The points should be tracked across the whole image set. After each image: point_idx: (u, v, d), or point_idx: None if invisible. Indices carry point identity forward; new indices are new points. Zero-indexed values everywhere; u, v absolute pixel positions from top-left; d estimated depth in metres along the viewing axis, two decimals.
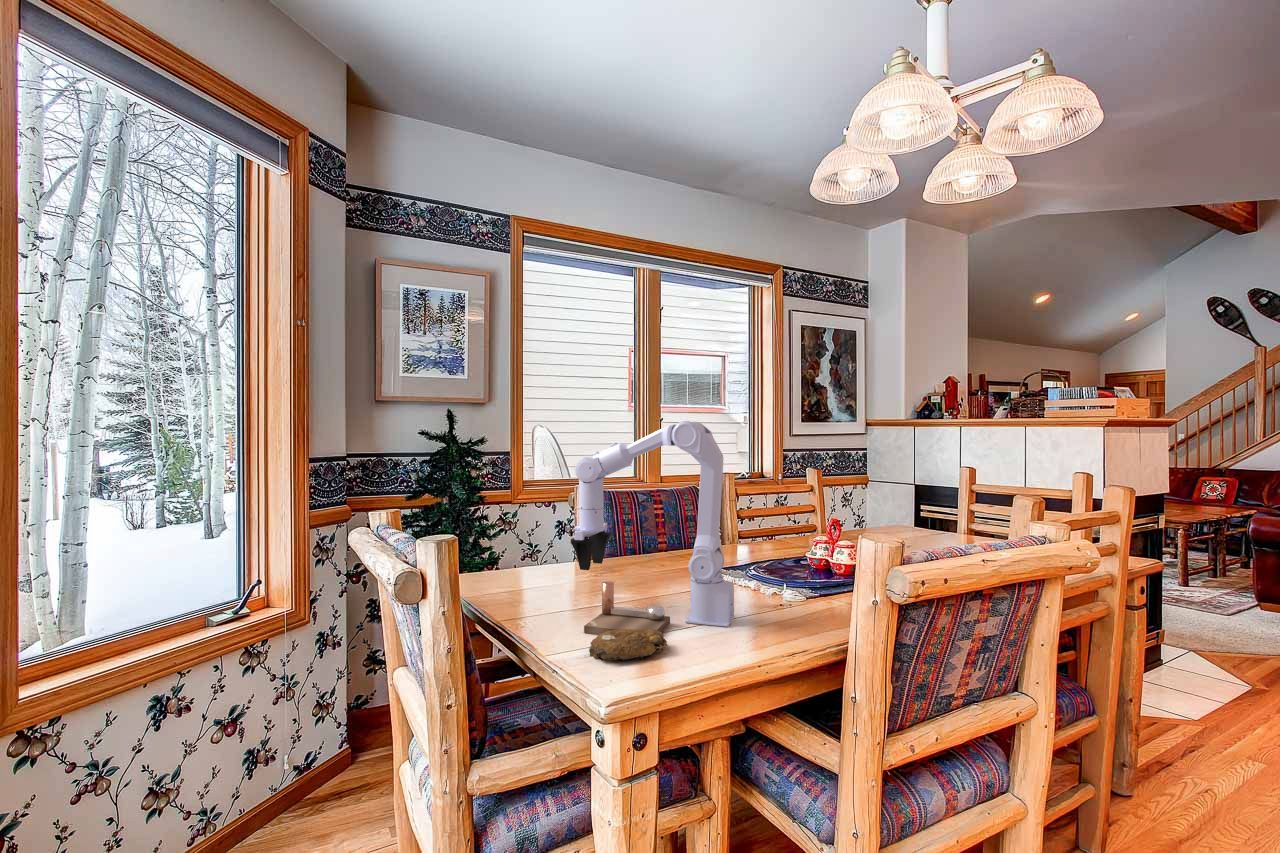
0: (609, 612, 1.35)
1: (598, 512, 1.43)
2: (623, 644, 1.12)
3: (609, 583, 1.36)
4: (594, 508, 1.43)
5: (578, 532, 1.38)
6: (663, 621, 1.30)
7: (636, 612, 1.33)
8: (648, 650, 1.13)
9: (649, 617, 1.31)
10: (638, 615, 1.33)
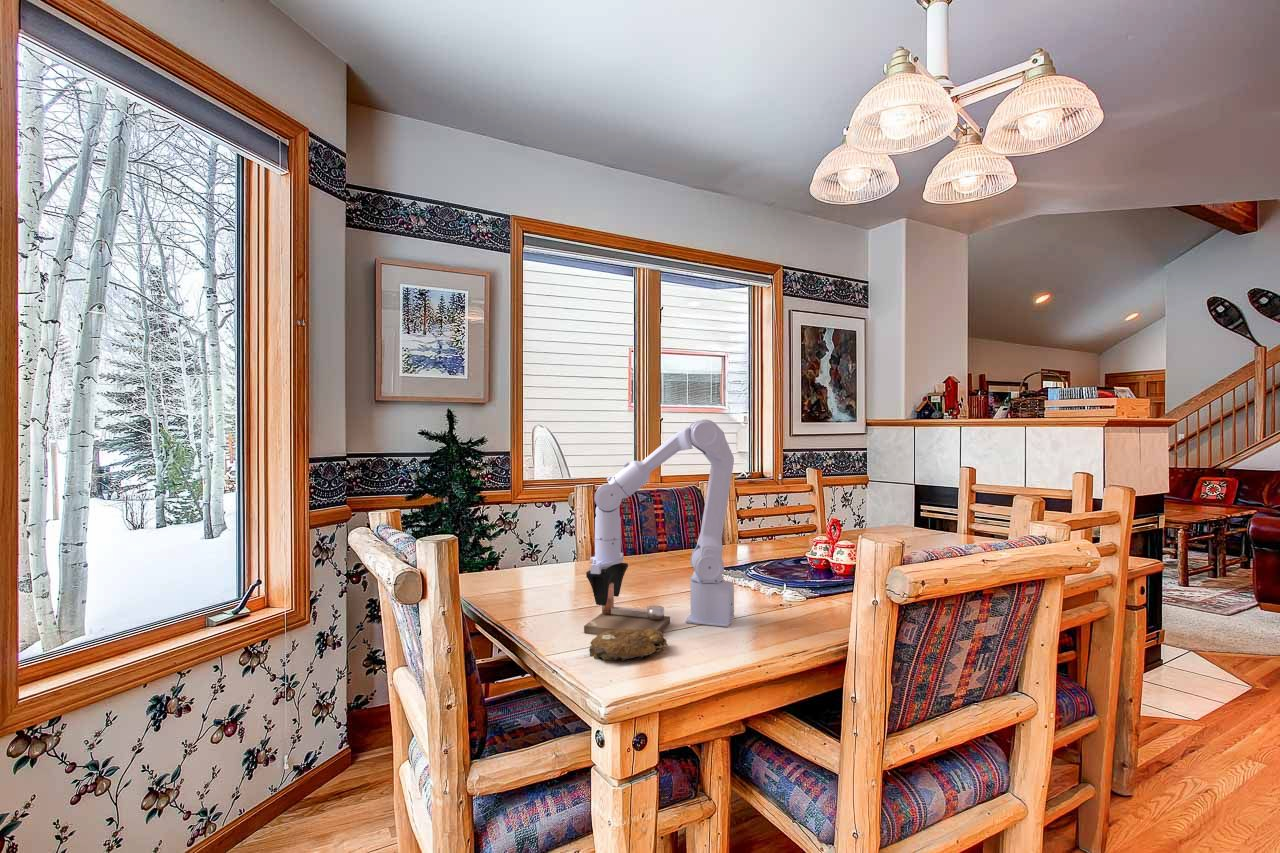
0: (609, 612, 1.35)
1: (615, 543, 1.34)
2: (623, 644, 1.12)
3: None
4: (615, 538, 1.34)
5: (595, 565, 1.29)
6: (663, 621, 1.30)
7: (636, 612, 1.33)
8: (648, 650, 1.13)
9: (649, 617, 1.31)
10: (638, 615, 1.33)
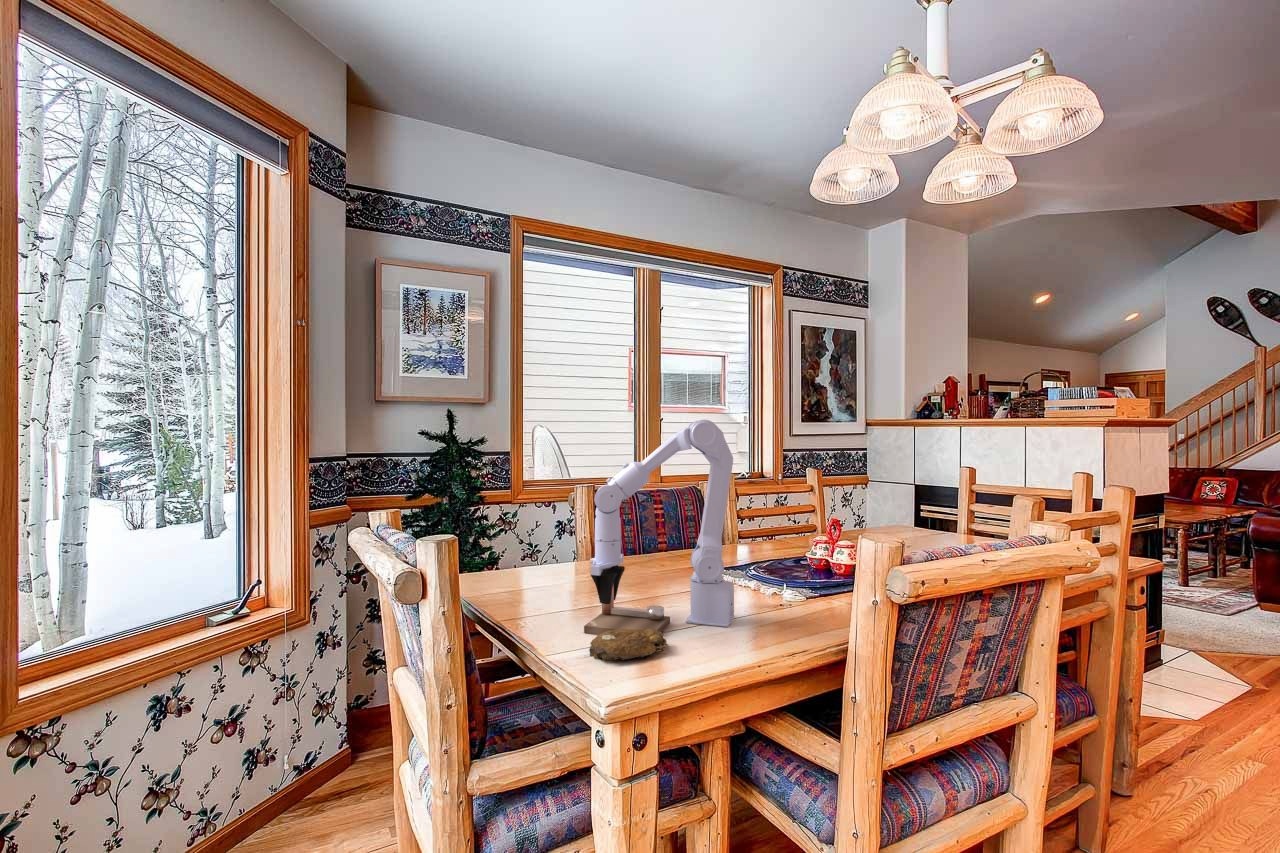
0: (609, 612, 1.35)
1: (615, 544, 1.34)
2: (623, 644, 1.12)
3: None
4: (615, 540, 1.34)
5: (595, 567, 1.29)
6: (663, 621, 1.30)
7: (636, 612, 1.33)
8: (648, 650, 1.13)
9: (649, 617, 1.31)
10: (638, 615, 1.33)
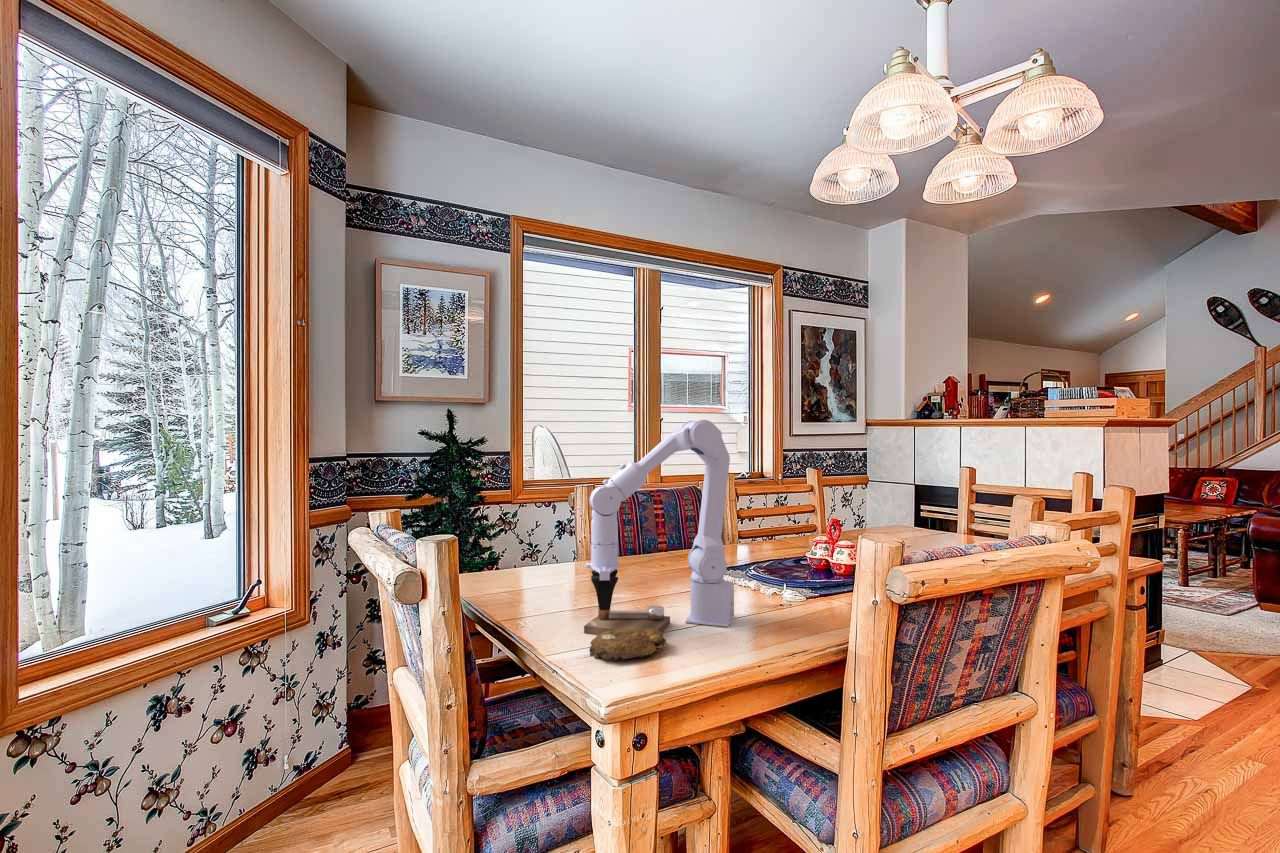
0: (607, 616, 1.31)
1: (616, 547, 1.31)
2: (624, 644, 1.13)
3: None
4: (613, 543, 1.30)
5: (604, 571, 1.25)
6: (663, 621, 1.30)
7: (636, 614, 1.32)
8: (648, 649, 1.13)
9: (651, 618, 1.31)
10: (638, 617, 1.32)
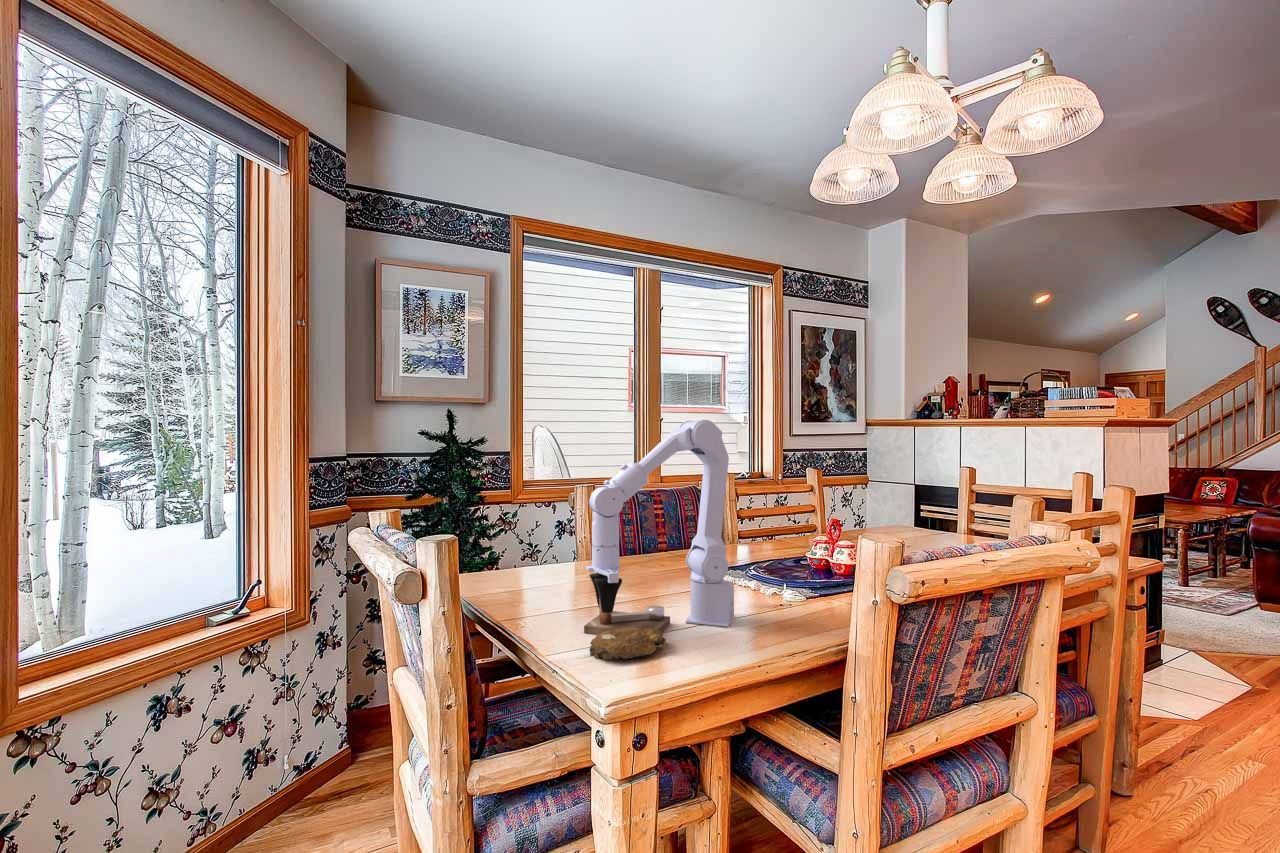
0: (610, 621, 1.29)
1: (618, 548, 1.29)
2: (624, 643, 1.13)
3: None
4: (615, 544, 1.28)
5: (613, 574, 1.23)
6: (663, 621, 1.30)
7: (638, 616, 1.30)
8: (649, 649, 1.13)
9: (653, 618, 1.31)
10: (640, 618, 1.31)
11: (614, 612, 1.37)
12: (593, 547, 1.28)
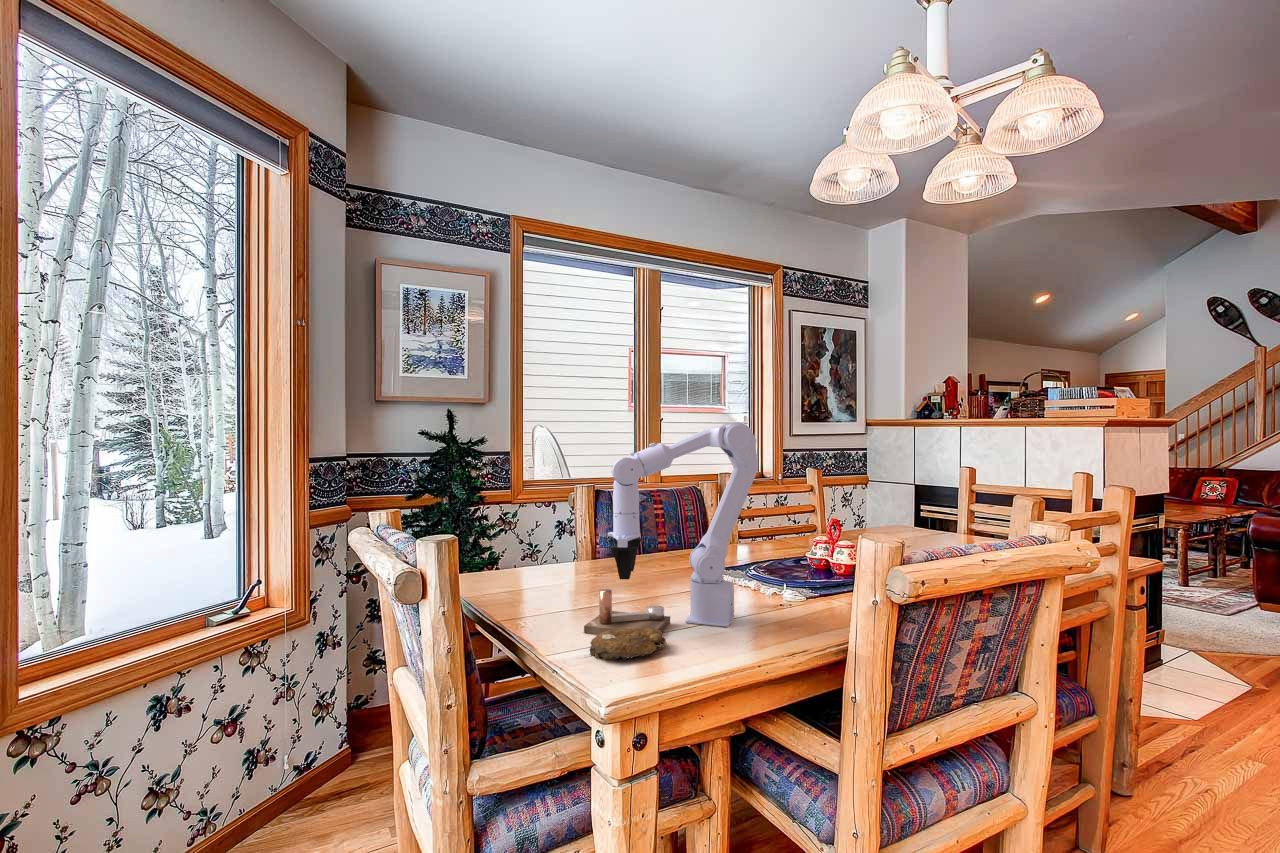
0: (610, 621, 1.29)
1: (636, 516, 1.33)
2: (624, 643, 1.13)
3: (608, 590, 1.29)
4: (634, 512, 1.33)
5: (622, 539, 1.28)
6: (663, 621, 1.30)
7: (638, 616, 1.30)
8: (649, 648, 1.13)
9: (653, 618, 1.31)
10: (640, 618, 1.31)
11: (614, 612, 1.37)
12: (613, 514, 1.35)
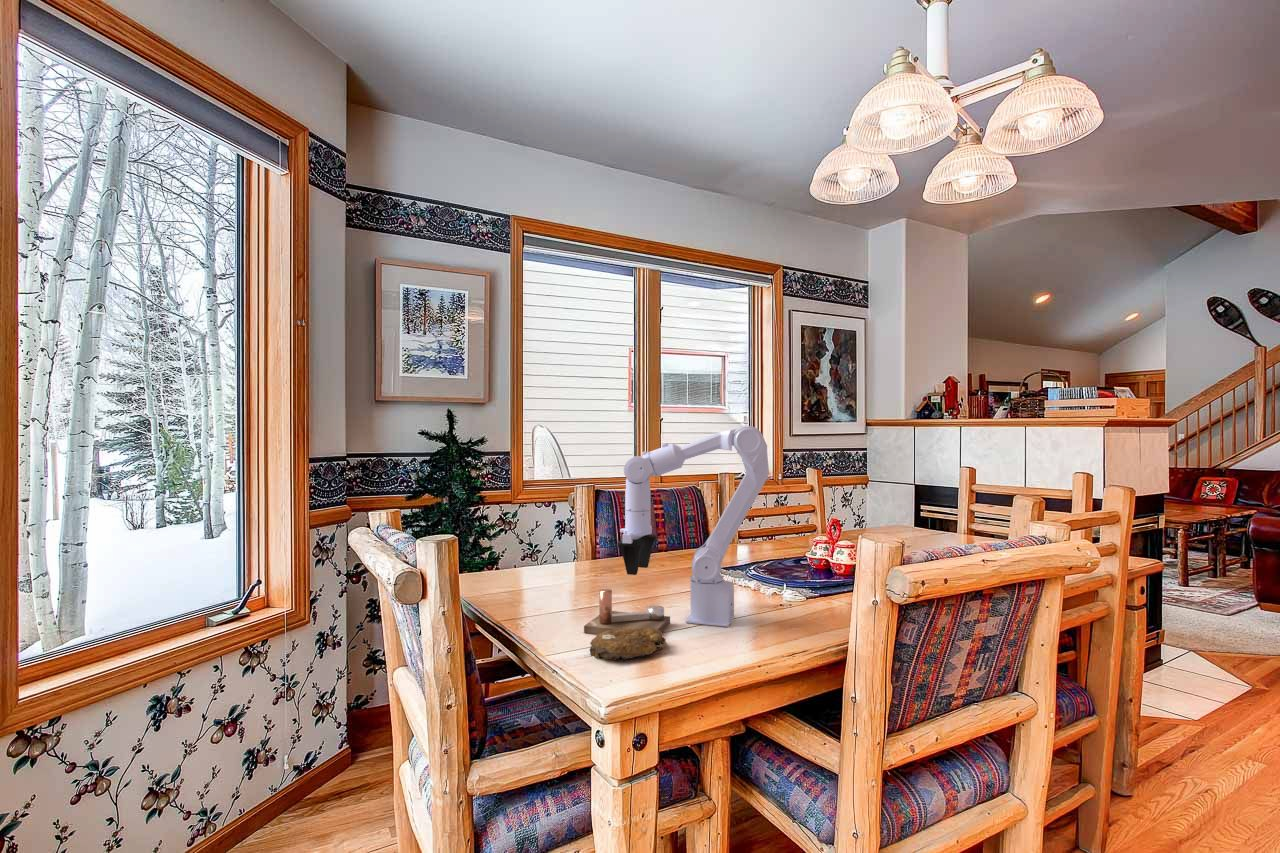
0: (610, 621, 1.29)
1: (646, 514, 1.37)
2: (624, 643, 1.13)
3: (608, 590, 1.29)
4: (644, 510, 1.36)
5: (626, 535, 1.32)
6: (663, 621, 1.30)
7: (638, 616, 1.30)
8: (649, 649, 1.14)
9: (653, 618, 1.31)
10: (640, 618, 1.31)
11: (614, 612, 1.37)
12: (625, 511, 1.39)
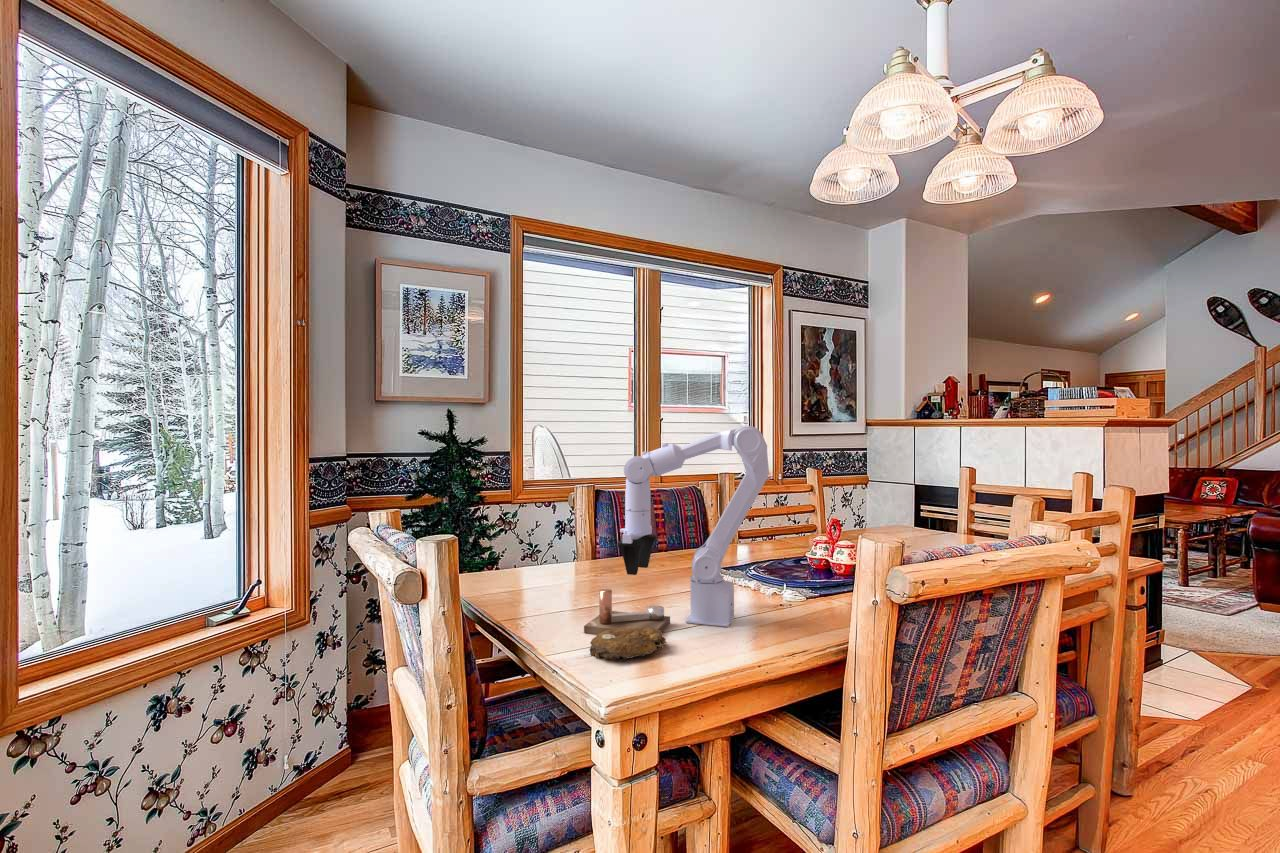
0: (610, 621, 1.29)
1: (646, 514, 1.37)
2: (625, 643, 1.13)
3: (608, 590, 1.29)
4: (644, 510, 1.36)
5: (626, 535, 1.32)
6: (663, 621, 1.30)
7: (638, 616, 1.30)
8: (649, 648, 1.14)
9: (653, 618, 1.31)
10: (640, 618, 1.31)
11: (614, 612, 1.37)
12: (625, 511, 1.39)
